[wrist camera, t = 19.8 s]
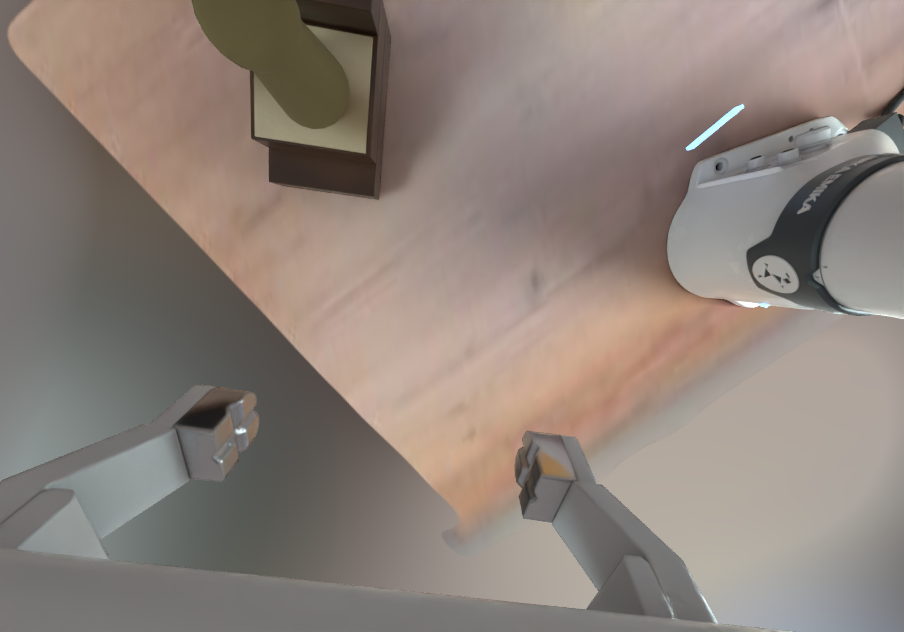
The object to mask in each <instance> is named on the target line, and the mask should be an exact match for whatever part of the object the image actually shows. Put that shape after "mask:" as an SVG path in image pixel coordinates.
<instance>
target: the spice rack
mask: <svg viewBox="0 0 904 632" xmlns="http://www.w3.org/2000/svg"><path fill="white" fill-rule="evenodd" d="M296 2H297V5H298V7H299V11H300V16H301V20H302V21H303V22H304V23H305V25H306V26H307V27H308V28H309V29H310V30H311V31H312V32H313V33H314V35H315V36H316V37H317V38H318V39H319V40H320V41H321V42H322V43H323V45H324V46H325V47H326V48H327V49H328V50H329V51H330V52H331V54H332V55H333V56H334V57H335V58H336V59H337V61H338V62H339V63H340V64H341V66H342V67H343V69H344V71H345V74H346V76H347V79H348V84H349V91H350V94H349V101H348V106H347V108H346V110H345V112H344V114H343V116H342V117H341V118H340V119H339V120H338V121H337V122H336V123H335V124H333V125H331V126H329V127H326V128H324V129H311V128H307V127H304V126H301V125H299V124H298V123H296V122H295V121H293V120H292V119H290V117H289V116H288V115H287V114H286V113H285V112H284V110H283V109H282V108H281V107H280V105H279V104H278V103H277V102H276V100H275V99H274V98H273V97H272V95H271V94H270V93H269V91H268V90H267V89H266V88H265V86H264V85H263V84H262V83H261V81H260V80H259V79H258V78H257V76H256V75H255V74H254V72H253V71H250V86H251V138H252V139H253V140H255V141H257V142H259V143H261V144H263V145H265V146H267V147H269V182H272V183H275V184H278V185H281V186H286V187H293V188H300V189H307V190H314V191H320V192H327V193H334V194H341V195H348V196H355V197H362V198H369V199H376V200H379V192H380V178H381V165H382V151H383V138H384V124H385V110H386V97H387V83H388V70H389V56H390V43H391V36H390V31H389V26H388V22H387V17H386V13H385V8H384V4H383V0H296Z"/></svg>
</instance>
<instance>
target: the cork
mask: <svg viewBox="0 0 904 632" xmlns="http://www.w3.org/2000/svg"><path fill="white" fill-rule="evenodd" d="M192 4H193V8H194V13H195V16H196V18H197V20H198V22H199V24H200V26H201V28H202V30H203V32H204V33H205V35H206V36H207V38H208V39H209V40H210V41H211V42H212V44H213V45H214V46H215V47H216V48H217V49H218V50H219V52H220V53H221V54H223V55H224V56H225V57H226V58H228V59H229V60H231V61H232V62H234V63H235V64H237V65H238V66H240V67H241V68H244V69H247V70H250V71H253V72H254V74H255V75H256V76H257V78H258V79H259V80H260V81H261V83H262V84H263V85H264V86H265V88H266V89H267V90H268V91H269V93H270V94H271V95H272V97H273V98H274V99H275V100H276V102H277V103H278V104H279V105H280V107H281V108H282V109H283V110H284V112H285V113H286V114H287V115H288V116H289V117H290V119H292V120H293V121H295V122H296V123H298V124H299V125H301V126H304V127H307V128H311V129H324V128H326V127H329V126H331V125H333V124H335V123H336V122H337V121H338V120H339V119H340V118H341V117H342V116H343V114H344V112H345V110H346V108H347V106H348V101H349V94H350V91H349V84H348V79H347V76H346V74H345V71H344V69H343V67H342V66H341V64H340V63H339V62H338V61H337V59H336V58H335V57H334V56H333V55H332V54H331V52H330V51H329V50H328V49H327V48H326V47H325V46H324V45H323V43H322V42H321V41H320V40H319V39H318V38H317V37H316V36H315V35H314V33H313V32H312V31H311V30H310V29H309V28H308V27H307V26H306V25H305V23H304V22H303V21H302V20H301V16H300V11H299V7H298V5H297V2H296V0H192Z"/></svg>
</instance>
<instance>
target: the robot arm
mask: <svg viewBox="0 0 904 632" xmlns="http://www.w3.org/2000/svg"><path fill="white" fill-rule="evenodd" d="M903 100H904V89H903V90H902V91H901V92H900V93H899V94H898V95H897V96H896V97H895V98H894V99H893V100H892V101H891V102H890V103H889V104H888V105H887V107H886V108H885V109H884V110H883V111H882V113H881V115H880V117H876V118H872V119H868V120H865V121H862V122H861V123H859V124H858V125H857V126H855V127H854V128H853V129H852V130H850V131H848V129H847V128H846V127H845V126H844V125H843V124H842V123H841V122H840V121H839V120H838V119H836V118H835V117H833V116H827V117H822V118H818V119H814V120H812V121H809V122H806V123H803V124H800V125H798V126H795V127H792V128H789V129H787V130H784V131H781V132H778V133H775V134H773V135H770V136H767V137H764V138H762V139H759V140H756V141H753V142H750V143H748V144H745V145H742V146H739V147H737V148H734V149H731V150H728V151H726V152H723V153H720V154H717V155H714V156H712V157H709V158H706V159H703V160H701V161H699V162H698V163H697V164H696V165H695V167H694V169H693V171H692V175H691V178H690V183H689V188H688V192H687V194H686V196H685V198H684V200H683V202H682V203H681V205H680V207H679V208H678V210H677V212H676V214H675V216H674V218H673V220H672V223H671V226H670V229H669V233H668V239H667V257H668V262H669V266H670V269H671V271H672V273H673V275H674V277H675V278H676V280H677V281H678V282H679V283H680V285H681V286H683V287H684V288H685V289H686V290H688V291H689V292H691V293H693V294H695V295H698V296H701V297H705V298H718V299H726V300H728V301H730V302H732V303H733V304H735V305H737V306H740V307H747V308H753V307H756V306H757V305H759V304H760V306H762V307H768V306H769V305H771V306H780V307H788V308H797V309H807V310H811V309H819V310H823V312H829V313H835V314H848V315H856V316H867V315H875V314H878V315H883V316H889V317H894V318H900V319H904V130H903V126H904V116H903V115H901V114H897V112H895V113H893V112H894V111H895V109H896V108H897V107H898V106H899V105H900V104H901V103H902V101H903ZM743 108H744V105H743V104H742V105H740V106H737V107H735V108H733V109H732V110H731V111H730V112H729V113H727V114H726V115H725V116H724V117H722V118H721V119H720V120H719V121H718V122H716V123H715V124H714V125H713V126H712V127H710V128H709V129H708V130H707V131H706V132H704V133H703V134H702V135H701V136H700V137H698V138H697V139H696V140H695V141H694V142H692V143H691V144H690V145H689V146H688V147H686V149H687V151H688V150H691V149H694V148H695V147H697V146H698V145H699V144H700V143H701V142H703V141H704V140H705V139H706V138H707V137H709V136H710V135H711V134H712V133H714V132H715V131H716V130H717V129H718V128H720V127H721V126H722V125H723V124H724V123H726V122H727V121H728V120H729V119H730V118H732V117H733V116H734V115H735V114H737V113H738V112H739V111H740V110H741V109H743ZM716 165H717V166H718V168H717V170H716ZM256 404H257V401H256V395H255V394H254V393H251V392H246V391H240V390H234V389H227V388H221V387H213V386H206V385H201V384H200V385H197V386H193V387H192V388H191V389H190V390H189V391H187V392H186V393H185V394H184V395H183V396H181V397H180V398H179V399H178V400H177V401H176V402H174V403H173V404H172V405H171V406H170V407H169V408H167V409H166V410H165V411H164V412H163V413H162V414H160V415H159V416H158V417H157V418H156V419H155V420H153V421H152V422H151V423H150V424H149V425H139V426H137V427H134V428H132V429H129V430H127V431H124V432H122V433H119V434H117V435H114V436H112V437H109V438H107V439H104V440H102V441H99V442H97V443H94V444H92V445H89V446H87V447H84V448H81V449H79V450H77V451H74V452H71V453H69V454H67V455H64V456H61V457H59V458H56V459H54V460H52V461H49V462H46V463H44V464H41V465H39V466H36V467H34V468H31V469H29V470H26V471H24V472H21V473H19V474H16V475H14V476H11V477H9V478H6V479H4V480H2V481H1V482H0V632H794V631H784V630H775V629H766V628H756V627H746V626H737V625H727V624H718V622H717V620H716V619H715V617H714V615H713V613H712V612H711V610H710V608H709V606H708V604H707V602H706V601H705V599H704V597H703V595H702V594H701V592H700V590H699V588H698V586H697V585H696V583H695V581H694V579H693V577H692V576H691V574H690V572H689V570H688V569H687V567H686V565H685V563H684V561H683V560H682V559H681V558H680V557H679V556H678V555H677V554H676V553H675V552H673V551H672V550H671V549H670V548H669V547H668V546H667V545H666V544H665V543H664V542H663V541H662V540H661V539H660V538H658V537H657V536H656V535H655V534H654V533H653V532H652V531H651V530H650V529H649V528H648V527H647V526H646V525H645V524H644V523H642V522H641V521H640V520H639V519H638V518H637V517H636V516H635V515H634V514H633V513H632V512H631V511H630V510H629V509H627V508H626V507H625V506H624V505H623V504H622V503H621V502H620V501H619V500H618V499H617V498H616V497H615V496H614V495H612V494H611V493H610V492H609V491H608V490H607V489H606V488H605V487H604V486H603V485H601V484H597V483H596V480H595V478H594V476H593V473H592V471H591V469H590V467H589V464H588V462H587V460H586V458H585V455H584V453H583V451H582V448H581V446H580V444H579V442H578V439H577V438H576V437H574V436H566V435H557V434H550V433H542V432H534V431H526V432H525V433H524V436H523V438H522V442H523V447H522V448H520V449H519V450H518V452H517V455H516V460H515V477H516V482H517V483H518V485H519V486H520V487H521V488H522V490H521V492H520V495H519V499H520V504H521V509H522V515H523V518H524V519H531V520H537V521H544V522H551V523H552V525H553V527H554V528H555V530H556V531H557V533H558V534H559V535H560V537H561V538H562V540H563V541H564V543H565V544H566V545H567V547H568V548H569V550H570V551H571V553H572V554H573V555H574V557H575V558H576V560H577V561H578V562H579V564H580V565H581V567H582V568H583V570H584V571H585V573H586V574H587V575H588V577H589V578H590V580H591V581H592V583H593V584H594V585H595V587H596V588H597V590H598V591H599V592H598V593H597V595H596V596H595V597H594V599H593V601H592V602H591V603H590V605H589V606H588V608H587V609H586V610H585V609H576V608H566V607H556V606H547V605H537V604H528V603H518V602H508V601H500V600H490V599H480V598H471V597H462V596H452V595H443V594H434V593H424V592H415V591H405V590H395V589H386V588H377V587H368V586H358V585H349V584H339V583H329V582H320V581H311V580H300V579H291V578H281V577H271V576H263V575H253V574H244V573H234V572H225V571H215V570H206V569H196V568H187V567H178V566H168V565H159V564H148V563H140V562H130V561H120V560H111V559H109V557H108V556H109V554H108V552H107V551H106V548H105V547H104V545H103V543H102V541H101V539H102V538H103V537H105V536H106V535H108V534H110V533H111V532H112V531H114V530H116V529H117V528H119V527H120V526H122V525H123V524H125V523H126V522H128V521H129V520H131V519H132V518H134V517H135V516H137V515H138V514H140V513H141V512H143V511H144V510H146V509H147V508H149V507H150V506H152V505H153V504H155V503H156V502H158V501H159V500H161V499H163V498H164V497H166V496H167V495H169V494H170V493H172V492H173V491H174V490H176V489H178V488H179V487H181V486H182V485H184V484H185V483H187V482H188V481H189V480H190V479H200V480H210V481H221V482H223V481H224V480H225V479H226V477H227V476H228V474H229V473H230V472H231V470H232V469H233V468H234V466H235V465H236V464H237V462H238V453H239V452H241V451H243V450H244V449H246V448H248V447H249V445H250V444H251V443H252V441H253V440H254V438H255V435H256V433H257V430H258V425H259V416H258V414H257V413H256V412H255V411H254V409H253V407H254V406H255V405H256Z"/></svg>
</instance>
